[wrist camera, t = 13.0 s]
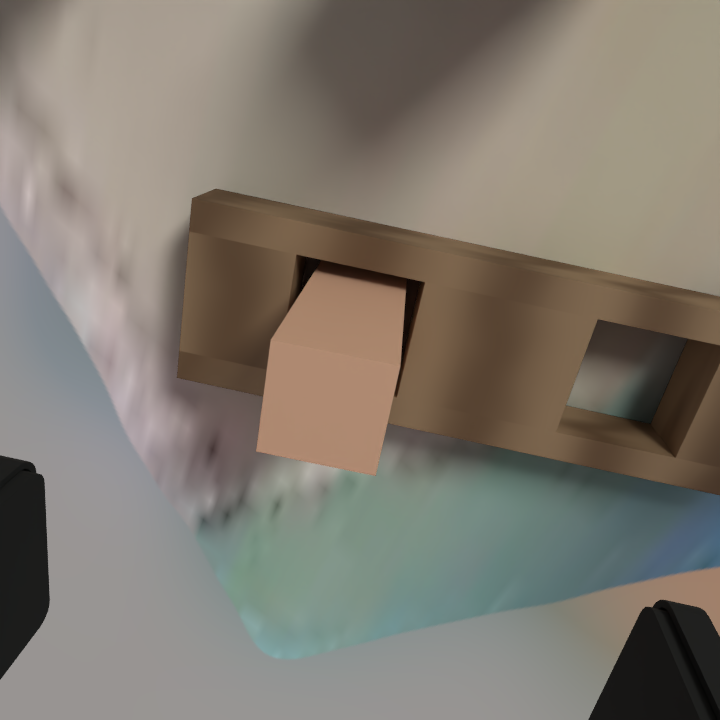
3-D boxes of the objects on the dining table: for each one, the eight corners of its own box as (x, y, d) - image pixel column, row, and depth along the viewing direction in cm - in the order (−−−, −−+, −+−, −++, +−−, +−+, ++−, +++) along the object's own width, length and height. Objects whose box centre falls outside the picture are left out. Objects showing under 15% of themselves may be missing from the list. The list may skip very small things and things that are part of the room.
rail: (806, 315, 30) (852, 339, 27) (729, 466, 34) (761, 504, 31) (215, 188, 31) (191, 198, 27) (199, 352, 34) (177, 377, 31)
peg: (407, 274, 31) (400, 366, 20) (390, 352, 33) (375, 475, 22) (322, 257, 31) (270, 339, 20) (310, 336, 33) (256, 451, 22)
